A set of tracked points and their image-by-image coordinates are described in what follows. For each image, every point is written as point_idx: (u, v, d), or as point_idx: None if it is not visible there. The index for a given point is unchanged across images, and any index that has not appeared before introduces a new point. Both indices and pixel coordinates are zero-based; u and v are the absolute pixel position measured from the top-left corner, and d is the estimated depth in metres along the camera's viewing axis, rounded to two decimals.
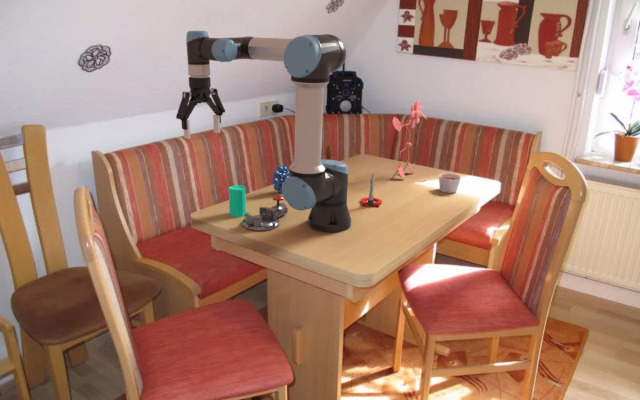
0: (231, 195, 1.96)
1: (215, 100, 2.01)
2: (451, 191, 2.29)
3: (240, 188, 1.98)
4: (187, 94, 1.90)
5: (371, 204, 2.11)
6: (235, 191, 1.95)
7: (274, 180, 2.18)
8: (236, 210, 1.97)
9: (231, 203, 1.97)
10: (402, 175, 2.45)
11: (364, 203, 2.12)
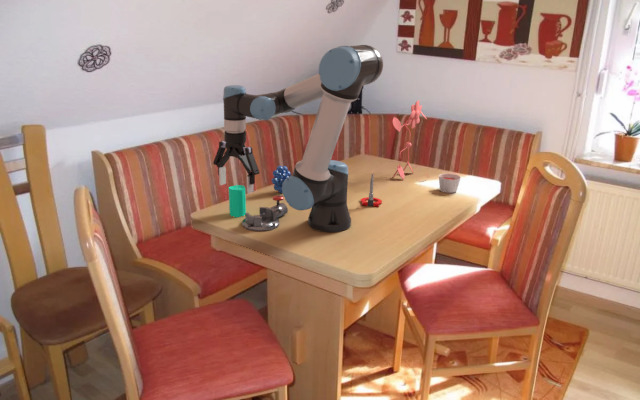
0: (231, 195, 1.96)
1: None
2: (451, 191, 2.29)
3: (240, 188, 1.98)
4: (219, 143, 1.95)
5: (371, 204, 2.11)
6: (235, 191, 1.95)
7: (274, 180, 2.18)
8: (236, 210, 1.97)
9: (231, 203, 1.97)
10: (402, 175, 2.45)
11: (364, 203, 2.12)
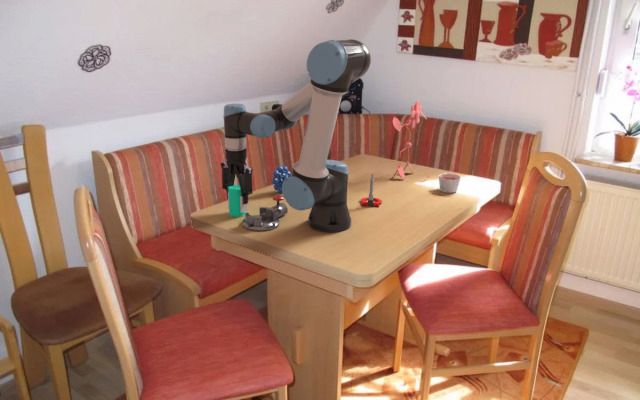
0: (231, 195, 1.96)
1: None
2: (451, 191, 2.29)
3: None
4: (221, 165, 1.97)
5: (371, 204, 2.11)
6: (235, 191, 1.95)
7: (274, 180, 2.18)
8: (236, 210, 1.97)
9: (231, 203, 1.97)
10: (402, 175, 2.45)
11: (364, 203, 2.12)
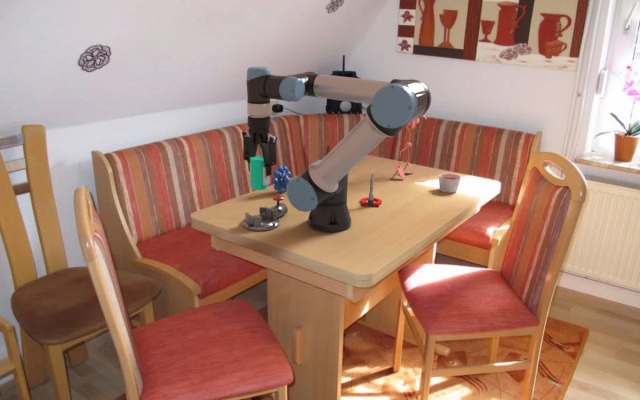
0: (253, 166, 1.83)
1: None
2: (451, 191, 2.29)
3: (262, 159, 1.85)
4: (242, 134, 1.84)
5: (371, 204, 2.11)
6: (257, 161, 1.82)
7: (274, 180, 2.18)
8: (258, 183, 1.84)
9: (253, 175, 1.84)
10: (402, 175, 2.45)
11: (364, 203, 2.12)
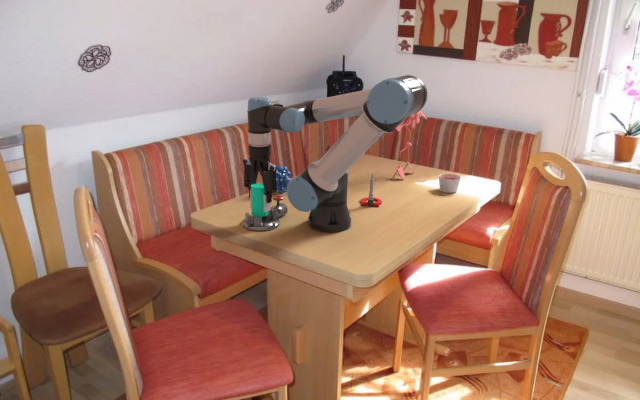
0: (253, 193, 1.86)
1: None
2: (451, 191, 2.29)
3: (263, 186, 1.88)
4: (243, 161, 1.87)
5: (371, 204, 2.11)
6: (258, 189, 1.85)
7: None
8: (258, 209, 1.88)
9: (253, 202, 1.87)
10: (402, 175, 2.45)
11: (364, 203, 2.12)
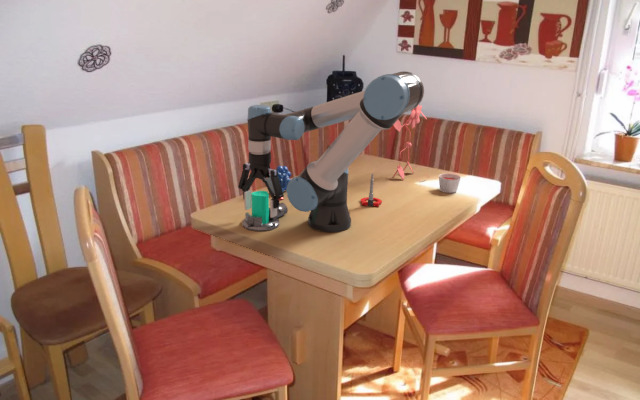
0: (254, 201, 1.87)
1: None
2: (451, 191, 2.29)
3: (263, 194, 1.89)
4: (243, 166, 1.88)
5: (371, 204, 2.11)
6: (258, 197, 1.86)
7: None
8: None
9: (254, 210, 1.88)
10: (402, 175, 2.45)
11: (364, 203, 2.12)
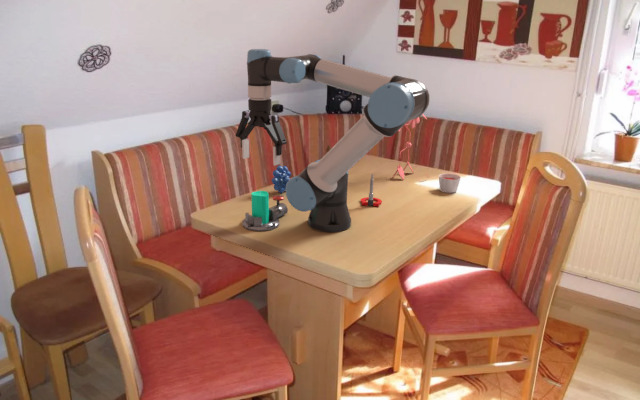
0: (254, 201, 1.87)
1: None
2: (451, 191, 2.29)
3: (263, 194, 1.89)
4: (242, 113, 1.82)
5: (371, 204, 2.11)
6: (258, 197, 1.86)
7: (274, 180, 2.18)
8: None
9: (254, 210, 1.88)
10: (402, 175, 2.45)
11: (364, 203, 2.12)
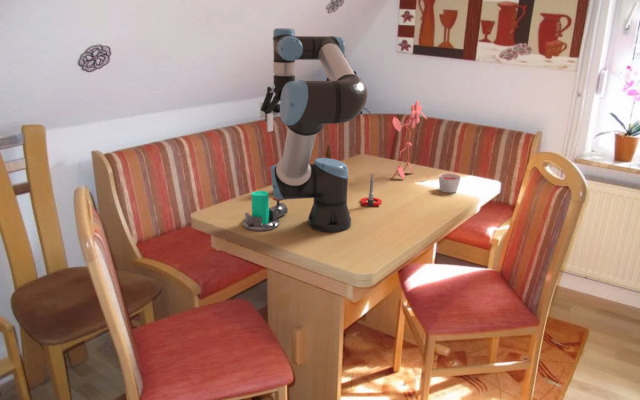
0: (254, 201, 1.87)
1: None
2: (451, 191, 2.29)
3: (263, 194, 1.89)
4: (267, 88, 1.96)
5: (371, 204, 2.11)
6: (258, 197, 1.86)
7: None
8: None
9: (254, 210, 1.88)
10: (402, 175, 2.45)
11: (364, 203, 2.12)
